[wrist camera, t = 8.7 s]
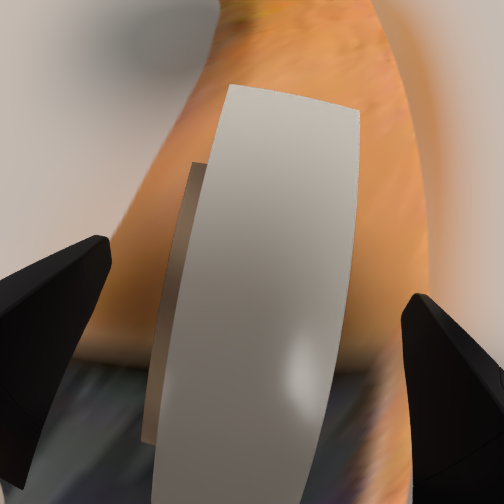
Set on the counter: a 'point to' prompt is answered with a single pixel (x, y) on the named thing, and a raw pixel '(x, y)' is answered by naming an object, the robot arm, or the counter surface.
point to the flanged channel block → (170, 303)
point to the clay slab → (259, 303)
